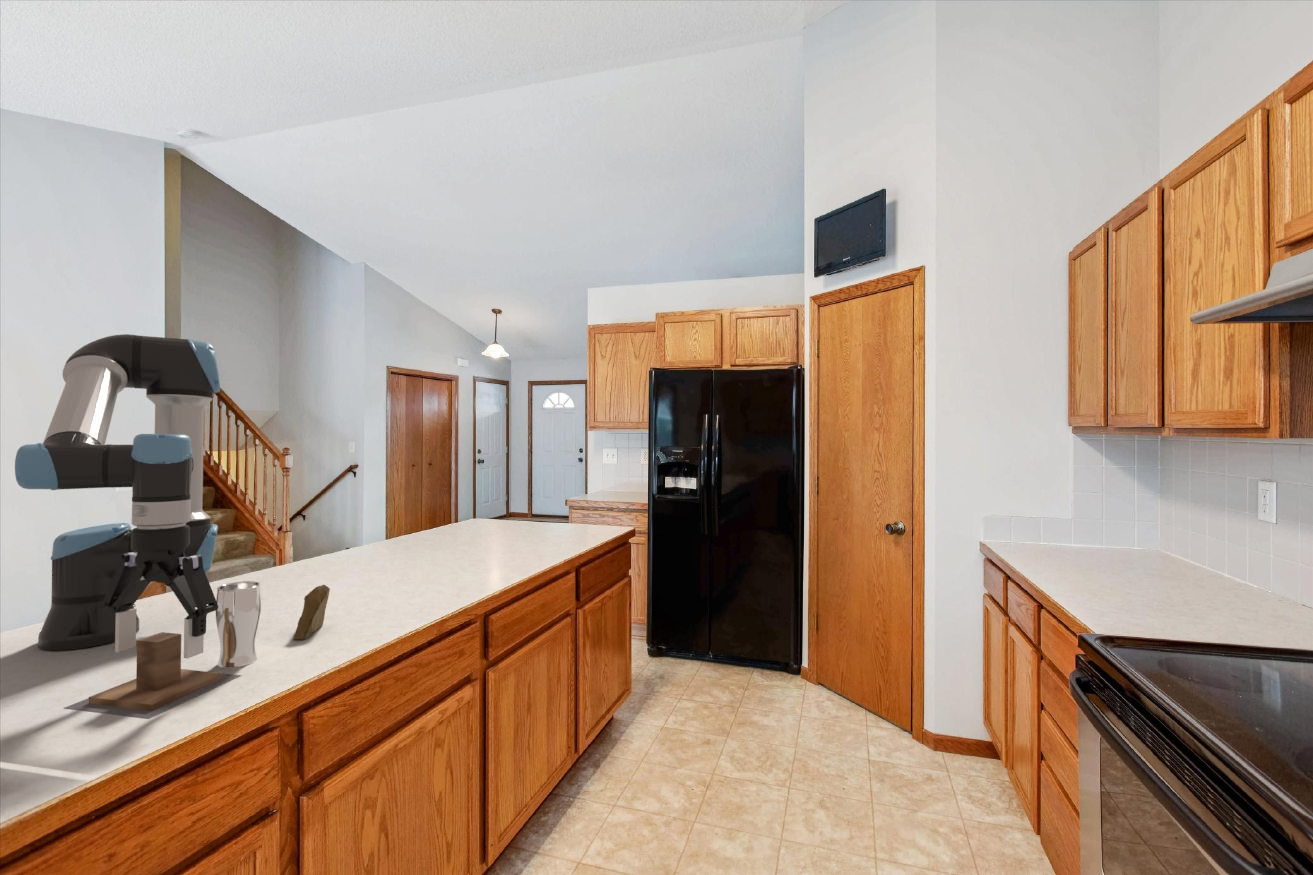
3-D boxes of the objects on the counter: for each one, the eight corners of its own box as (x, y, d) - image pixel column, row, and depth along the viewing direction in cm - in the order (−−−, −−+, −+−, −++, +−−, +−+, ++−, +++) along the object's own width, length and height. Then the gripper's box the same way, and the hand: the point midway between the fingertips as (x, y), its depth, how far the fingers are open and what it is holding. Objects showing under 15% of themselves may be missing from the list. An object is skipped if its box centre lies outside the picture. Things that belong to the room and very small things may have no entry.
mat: (63, 711, 90) (63, 707, 90) (166, 670, 106) (166, 667, 106) (148, 721, 87) (148, 718, 87) (241, 678, 103) (241, 675, 103)
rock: (310, 632, 120) (347, 612, 130) (287, 599, 120) (326, 581, 130) (281, 657, 123) (319, 635, 133) (258, 624, 124) (298, 605, 133)
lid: (88, 703, 92) (89, 647, 92) (164, 672, 103) (165, 622, 103) (151, 711, 90) (152, 653, 89) (221, 678, 101) (222, 628, 101)
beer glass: (253, 654, 114) (254, 578, 114) (265, 663, 109) (266, 585, 109) (209, 664, 108) (211, 585, 108) (220, 675, 104) (222, 592, 104)
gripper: (74, 526, 95) (72, 654, 95) (203, 531, 90) (201, 666, 90) (124, 519, 102) (121, 639, 102) (245, 525, 98) (243, 649, 98)
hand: (159, 652), depth 96 cm, fingers open, 13 cm apart
